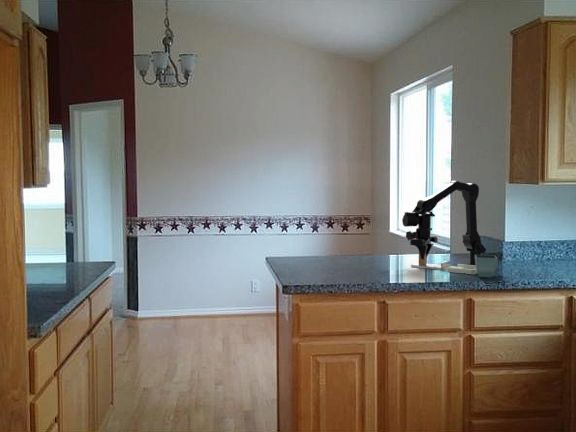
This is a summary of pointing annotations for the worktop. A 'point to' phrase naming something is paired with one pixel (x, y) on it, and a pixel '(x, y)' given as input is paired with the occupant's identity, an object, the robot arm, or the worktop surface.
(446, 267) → the tile
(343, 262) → the worktop surface
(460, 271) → the corral
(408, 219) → the robot arm
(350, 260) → the worktop surface
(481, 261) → the flower pot
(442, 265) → the metal bookend
